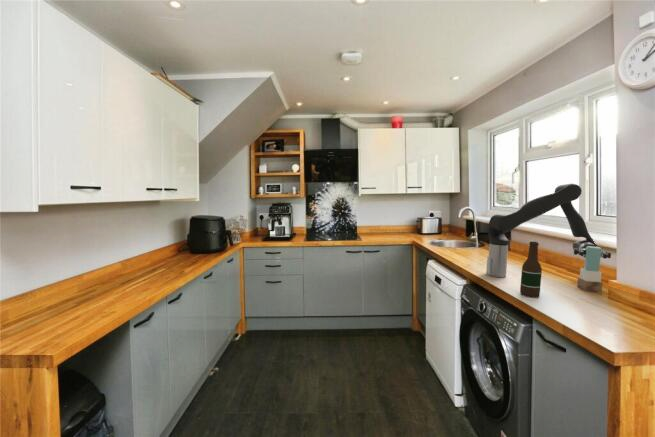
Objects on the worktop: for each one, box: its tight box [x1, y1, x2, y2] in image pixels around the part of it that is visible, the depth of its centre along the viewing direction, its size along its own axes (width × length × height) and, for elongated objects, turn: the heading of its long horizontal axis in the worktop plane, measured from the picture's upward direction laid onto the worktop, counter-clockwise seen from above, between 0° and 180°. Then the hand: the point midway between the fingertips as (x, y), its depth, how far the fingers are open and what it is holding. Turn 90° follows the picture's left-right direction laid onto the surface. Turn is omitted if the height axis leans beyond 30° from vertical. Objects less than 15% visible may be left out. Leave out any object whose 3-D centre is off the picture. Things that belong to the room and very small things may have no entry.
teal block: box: [583, 246, 602, 272], centre depth 163 cm, size 5×5×11 cm
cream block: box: [579, 267, 603, 282], centre depth 164 cm, size 6×6×5 cm
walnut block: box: [576, 277, 603, 293], centre depth 164 cm, size 7×7×5 cm
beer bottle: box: [519, 241, 542, 299], centre depth 151 cm, size 8×8×24 cm
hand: (593, 255), depth 161 cm, fingers open, 8 cm apart
